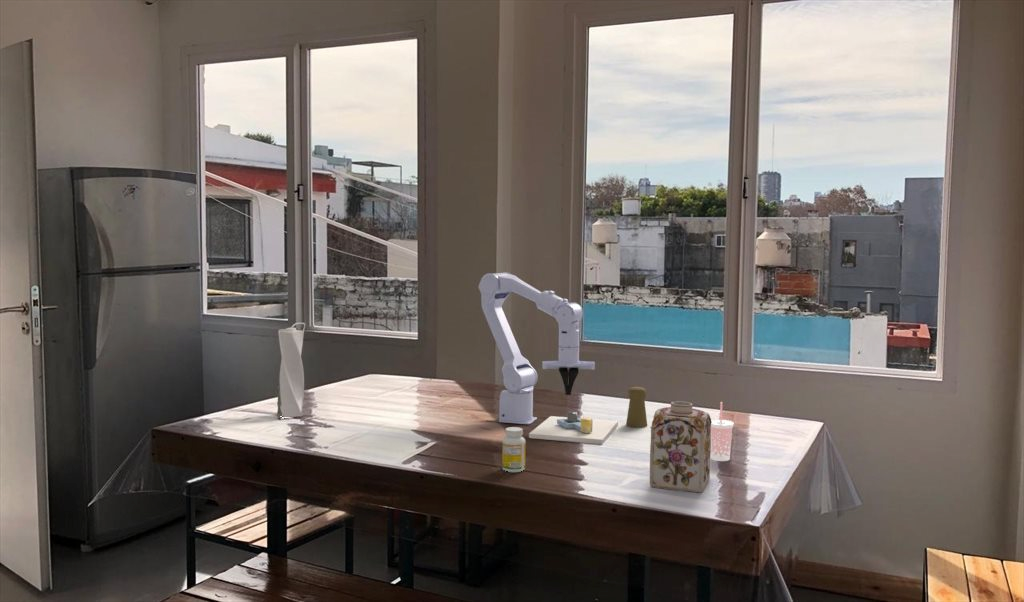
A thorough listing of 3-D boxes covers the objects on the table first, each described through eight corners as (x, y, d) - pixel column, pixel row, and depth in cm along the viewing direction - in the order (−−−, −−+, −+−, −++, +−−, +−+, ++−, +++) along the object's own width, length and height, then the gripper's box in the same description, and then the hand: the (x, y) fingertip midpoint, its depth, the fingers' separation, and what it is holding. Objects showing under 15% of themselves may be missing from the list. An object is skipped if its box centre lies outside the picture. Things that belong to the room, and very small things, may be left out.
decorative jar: (648, 487, 179) (649, 405, 177) (658, 473, 190) (660, 395, 188) (704, 494, 175) (706, 410, 173) (711, 478, 186) (713, 399, 184)
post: (566, 431, 229) (566, 413, 228) (568, 428, 231) (568, 411, 231) (576, 431, 228) (576, 414, 228) (578, 429, 231) (578, 411, 230)
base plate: (528, 438, 221) (528, 433, 221) (550, 420, 242) (550, 416, 242) (602, 444, 215) (602, 439, 215) (618, 425, 236) (618, 421, 236)
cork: (646, 428, 233) (647, 389, 232) (625, 427, 234) (626, 388, 233) (647, 423, 239) (648, 385, 238) (626, 422, 240) (627, 384, 239)
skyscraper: (305, 412, 251) (304, 320, 248) (308, 418, 243) (306, 323, 241) (277, 414, 248) (275, 321, 246) (278, 420, 240) (276, 324, 238)
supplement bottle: (515, 474, 188) (515, 433, 187) (497, 469, 192) (497, 429, 191) (530, 469, 192) (530, 428, 192) (512, 464, 196) (512, 425, 195)
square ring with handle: (556, 423, 231) (557, 411, 231) (577, 421, 234) (577, 409, 233) (577, 433, 220) (578, 421, 219) (599, 431, 222) (599, 419, 222)
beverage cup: (737, 460, 200) (739, 403, 199) (715, 462, 198) (716, 405, 197) (724, 454, 206) (725, 398, 205) (702, 456, 204) (703, 400, 203)
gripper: (543, 348, 226) (543, 397, 227) (596, 348, 226) (595, 397, 227) (542, 344, 233) (541, 392, 234) (593, 345, 233) (592, 392, 234)
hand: (568, 394), depth 231 cm, fingers closed
